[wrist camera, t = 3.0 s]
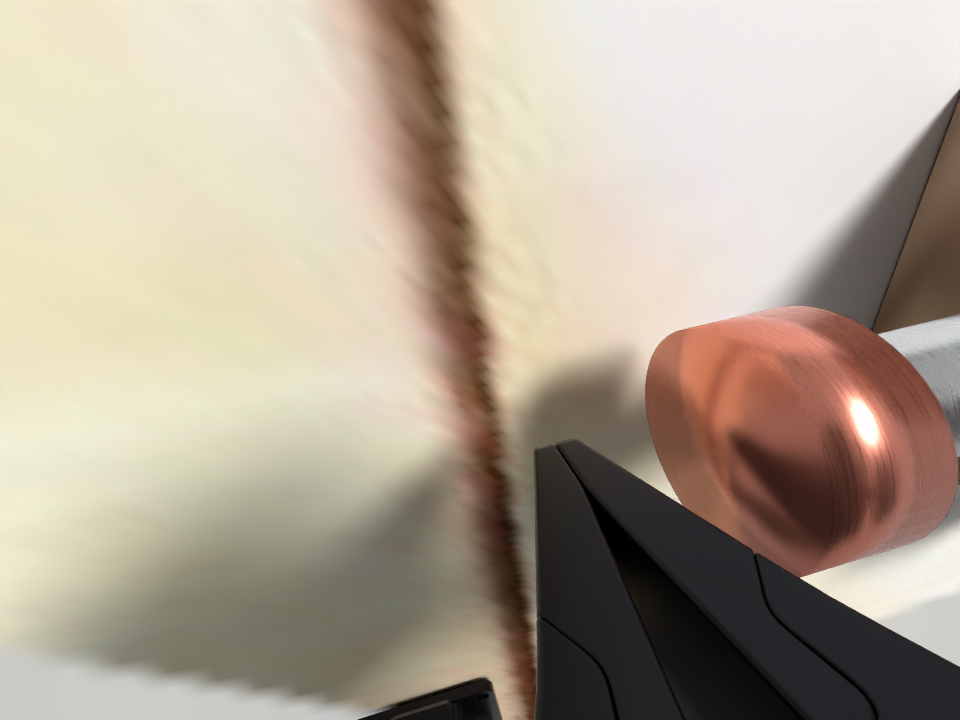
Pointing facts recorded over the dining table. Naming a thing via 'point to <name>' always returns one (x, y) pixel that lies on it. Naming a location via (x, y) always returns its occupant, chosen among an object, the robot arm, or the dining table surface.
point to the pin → (810, 431)
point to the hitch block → (930, 250)
